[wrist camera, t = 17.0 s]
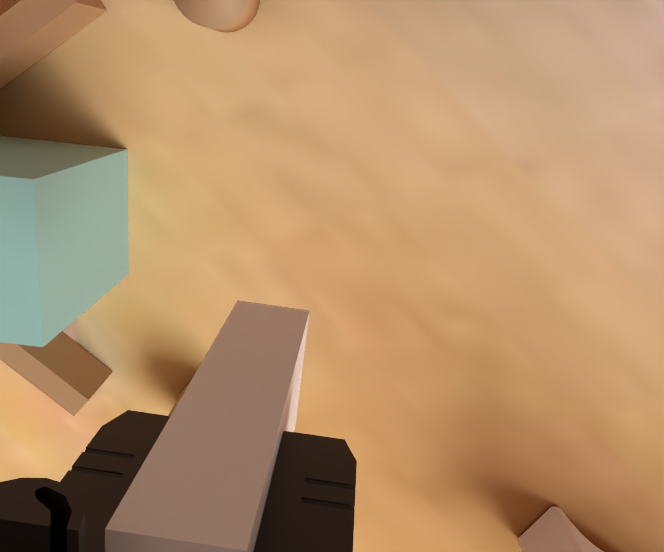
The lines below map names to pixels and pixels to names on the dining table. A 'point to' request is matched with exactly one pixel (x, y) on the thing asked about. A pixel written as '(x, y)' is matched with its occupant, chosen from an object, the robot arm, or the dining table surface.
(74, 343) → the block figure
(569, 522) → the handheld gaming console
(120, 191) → the pale green block
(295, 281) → the dining table surface
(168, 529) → the robot arm
